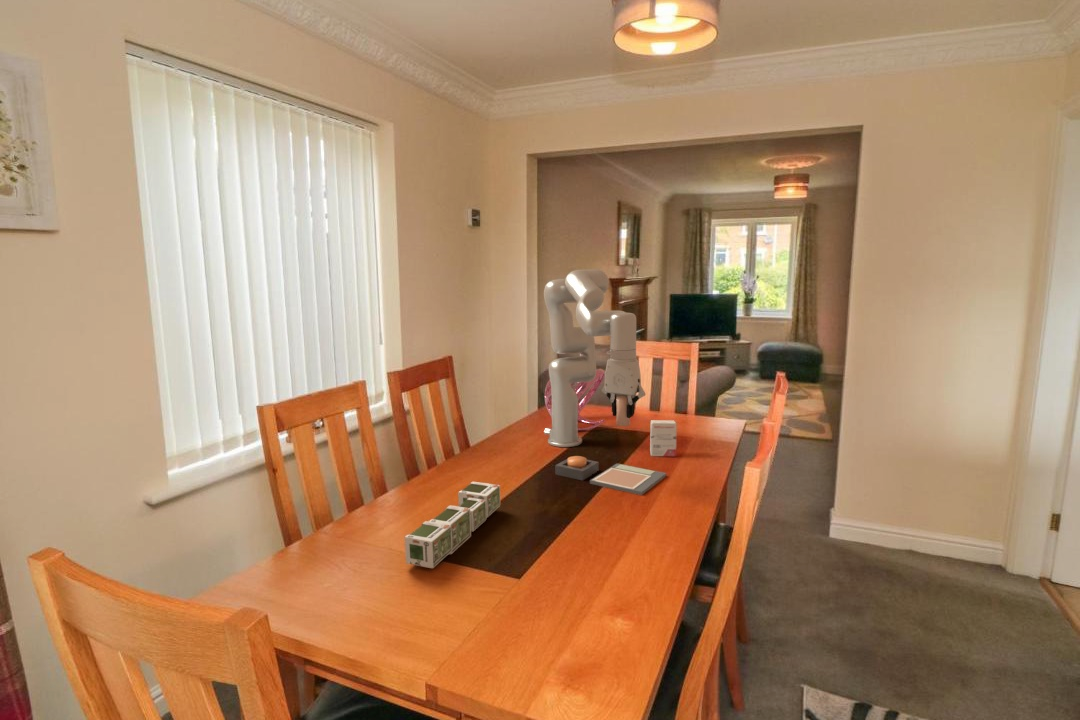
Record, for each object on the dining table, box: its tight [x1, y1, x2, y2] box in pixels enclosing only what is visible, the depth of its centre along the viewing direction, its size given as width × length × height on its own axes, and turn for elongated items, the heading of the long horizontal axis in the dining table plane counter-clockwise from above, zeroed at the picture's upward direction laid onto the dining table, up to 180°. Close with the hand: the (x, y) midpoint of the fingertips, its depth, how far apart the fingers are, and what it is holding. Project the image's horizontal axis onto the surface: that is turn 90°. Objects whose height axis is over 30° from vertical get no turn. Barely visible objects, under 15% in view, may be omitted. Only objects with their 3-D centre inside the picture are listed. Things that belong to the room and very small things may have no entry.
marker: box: [615, 394, 631, 427], centre depth 176 cm, size 4×4×12 cm
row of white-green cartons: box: [404, 481, 501, 569], centre depth 145 cm, size 35×8×7 cm, turn 159°
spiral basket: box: [544, 368, 606, 432], centre depth 238 cm, size 28×28×27 cm
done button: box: [567, 455, 588, 469], centre depth 188 cm, size 6×6×2 cm
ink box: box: [649, 419, 678, 457], centre depth 204 cm, size 9×5×12 cm, turn 84°
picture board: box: [589, 462, 667, 496], centre depth 181 cm, size 17×18×1 cm
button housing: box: [554, 458, 600, 481], centre depth 188 cm, size 10×10×3 cm
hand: (623, 415), depth 176 cm, fingers closed on marker, 4 cm apart
